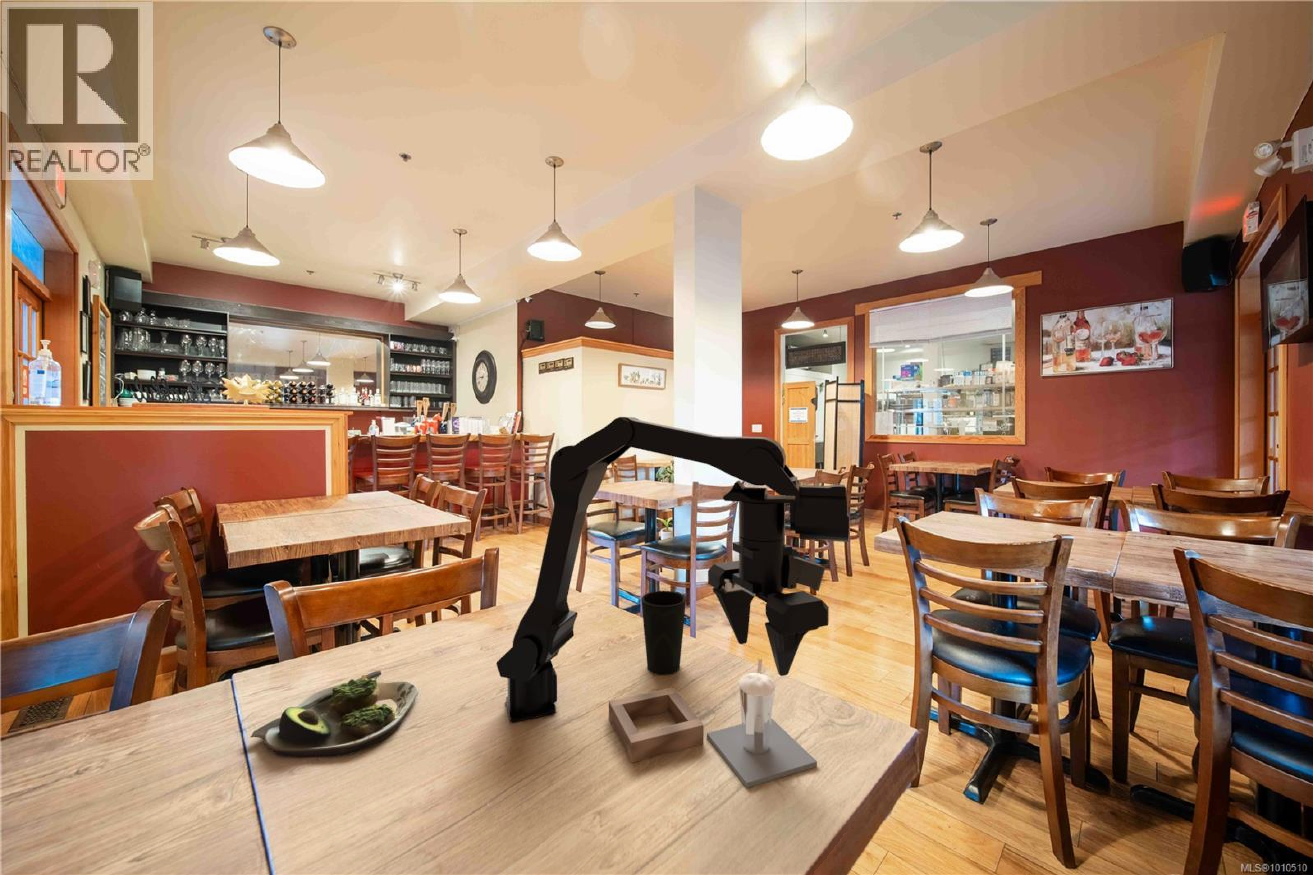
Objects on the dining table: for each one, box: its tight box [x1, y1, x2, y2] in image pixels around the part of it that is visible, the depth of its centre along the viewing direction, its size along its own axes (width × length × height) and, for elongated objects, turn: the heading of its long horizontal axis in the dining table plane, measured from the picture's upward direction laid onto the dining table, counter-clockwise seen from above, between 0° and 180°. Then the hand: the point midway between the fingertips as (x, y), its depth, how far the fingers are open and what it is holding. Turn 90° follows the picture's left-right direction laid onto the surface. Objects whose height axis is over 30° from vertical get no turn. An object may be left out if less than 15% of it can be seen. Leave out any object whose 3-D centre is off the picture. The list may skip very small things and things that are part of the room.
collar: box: [608, 687, 705, 763], centre depth 69 cm, size 10×10×2 cm
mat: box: [706, 718, 818, 789], centre depth 65 cm, size 10×10×1 cm
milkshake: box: [738, 658, 776, 754], centre depth 65 cm, size 5×5×10 cm
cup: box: [641, 590, 687, 676], centre depth 86 cm, size 8×8×12 cm
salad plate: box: [249, 670, 419, 759], centre depth 73 cm, size 19×18×5 cm
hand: (761, 658), depth 64 cm, fingers open, 9 cm apart
